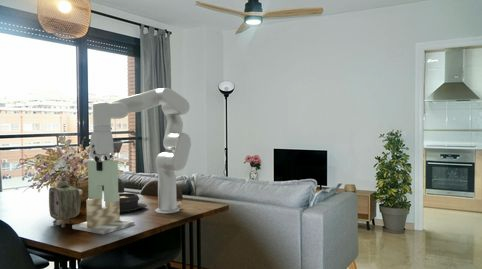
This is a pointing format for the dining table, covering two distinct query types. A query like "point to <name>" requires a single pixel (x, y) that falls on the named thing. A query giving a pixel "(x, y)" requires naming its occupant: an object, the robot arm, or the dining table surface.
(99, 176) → the sage slotted plate
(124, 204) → the casserole
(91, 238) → the dining table surface
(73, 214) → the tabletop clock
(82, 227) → the birch slotted base
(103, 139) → the robot arm
